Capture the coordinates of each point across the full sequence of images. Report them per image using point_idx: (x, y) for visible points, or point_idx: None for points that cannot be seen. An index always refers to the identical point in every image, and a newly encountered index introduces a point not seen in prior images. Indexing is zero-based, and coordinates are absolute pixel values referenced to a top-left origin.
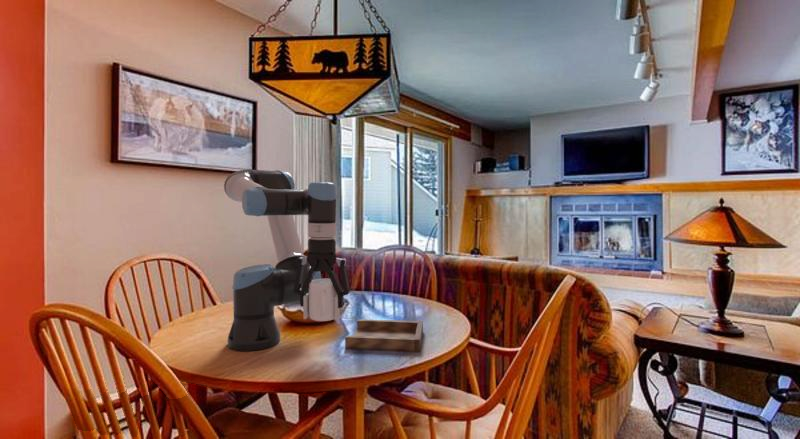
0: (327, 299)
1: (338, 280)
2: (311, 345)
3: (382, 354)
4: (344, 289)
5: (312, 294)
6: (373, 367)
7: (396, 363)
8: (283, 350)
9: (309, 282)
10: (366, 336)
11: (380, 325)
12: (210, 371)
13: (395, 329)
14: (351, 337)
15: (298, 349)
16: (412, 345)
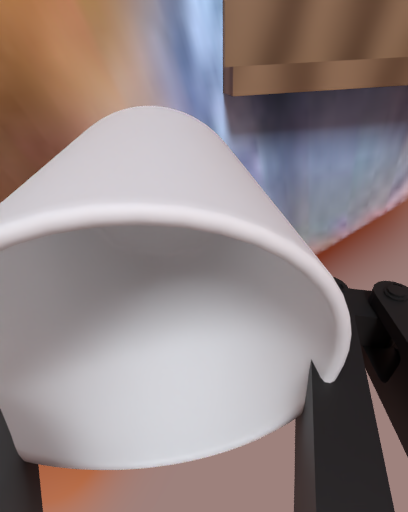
0: (221, 329)
1: (371, 406)
2: (71, 74)
3: (354, 125)
4: (376, 367)
5: (112, 374)
6: (321, 221)
7: (382, 186)
8: (2, 153)
9: (30, 474)
10: (325, 67)
11: None
12: None
13: None
14: (260, 93)
15: (50, 132)
16: None
